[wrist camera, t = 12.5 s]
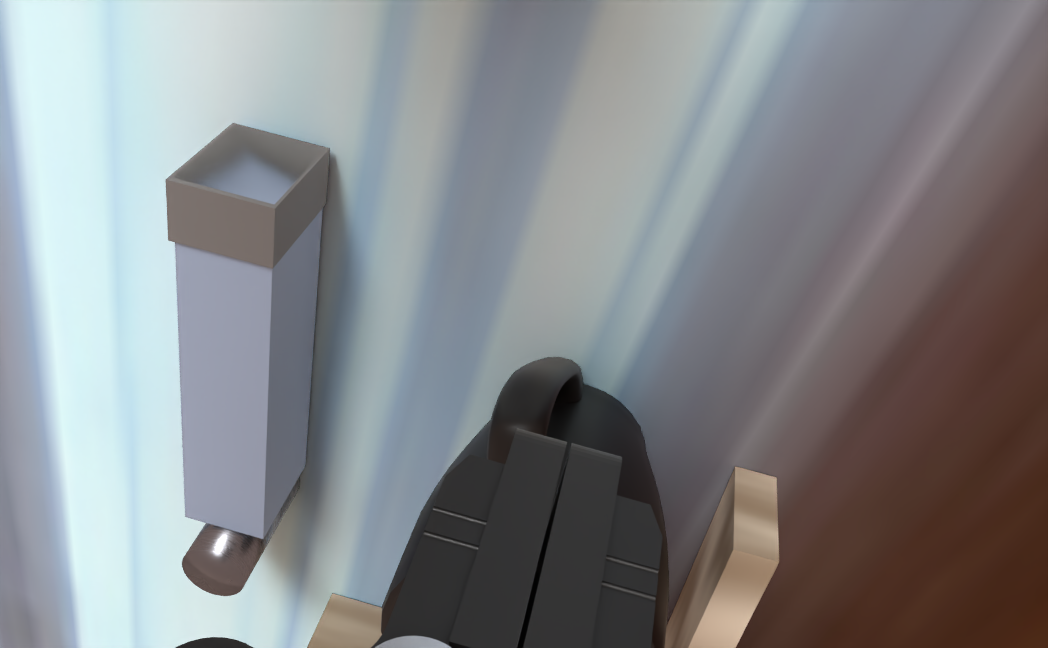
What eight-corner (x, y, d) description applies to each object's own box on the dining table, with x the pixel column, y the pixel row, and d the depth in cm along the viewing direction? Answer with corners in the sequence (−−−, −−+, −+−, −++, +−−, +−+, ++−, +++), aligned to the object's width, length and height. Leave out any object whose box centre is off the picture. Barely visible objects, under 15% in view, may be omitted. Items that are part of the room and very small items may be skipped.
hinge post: (244, 448, 38) (180, 542, 34) (300, 463, 38) (244, 560, 34) (243, 489, 40) (183, 585, 35) (298, 504, 40) (244, 602, 35)
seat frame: (353, 362, 35) (312, 432, 31) (783, 479, 34) (786, 564, 30) (330, 614, 43) (296, 689, 40) (672, 712, 42) (665, 798, 39)
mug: (708, 267, 30) (693, 472, 22) (670, 536, 36) (648, 766, 29) (454, 239, 31) (355, 423, 23) (462, 504, 38) (387, 716, 30)
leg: (307, 466, 38) (263, 544, 34) (231, 444, 38) (180, 519, 35) (330, 148, 30) (275, 208, 26) (232, 122, 30) (165, 179, 26)
